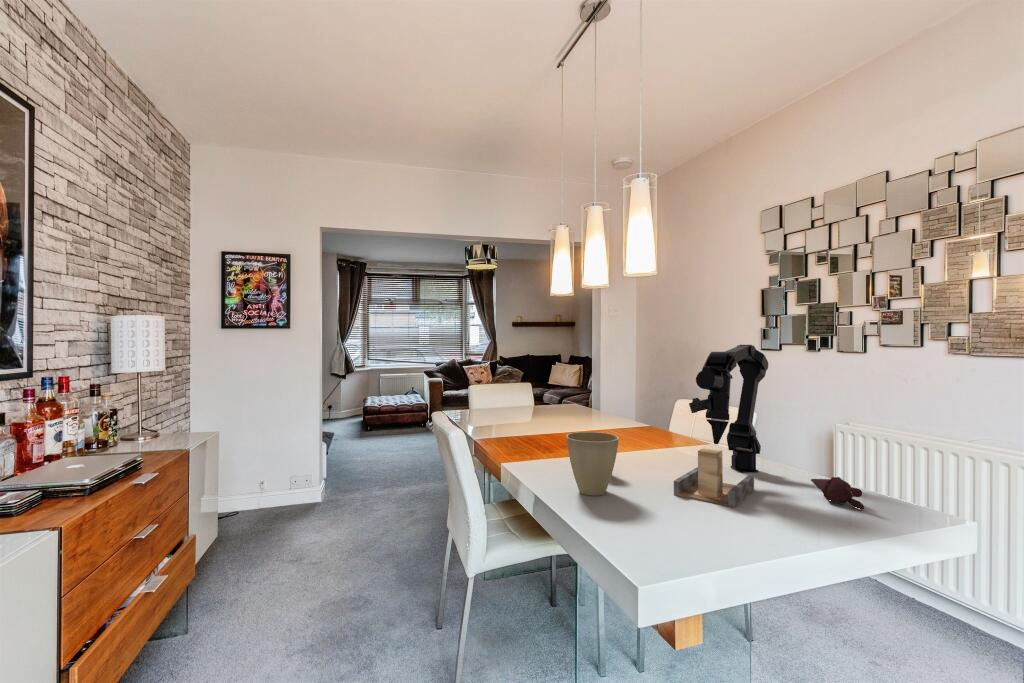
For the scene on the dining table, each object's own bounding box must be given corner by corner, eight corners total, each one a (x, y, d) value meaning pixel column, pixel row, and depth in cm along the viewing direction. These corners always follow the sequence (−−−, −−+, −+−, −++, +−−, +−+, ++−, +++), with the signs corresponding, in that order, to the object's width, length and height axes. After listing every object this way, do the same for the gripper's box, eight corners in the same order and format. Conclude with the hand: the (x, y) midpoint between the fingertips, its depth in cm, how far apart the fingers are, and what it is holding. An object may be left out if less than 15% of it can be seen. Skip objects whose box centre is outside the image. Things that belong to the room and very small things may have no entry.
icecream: (798, 472, 131) (849, 493, 117) (820, 463, 133) (872, 483, 119) (802, 495, 132) (853, 519, 118) (823, 486, 134) (875, 509, 120)
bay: (697, 479, 146) (697, 466, 146) (754, 490, 136) (753, 476, 136) (673, 494, 132) (673, 480, 132) (734, 507, 121) (734, 492, 121)
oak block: (704, 489, 135) (704, 447, 135) (722, 493, 131) (722, 450, 132) (698, 493, 131) (697, 450, 131) (716, 497, 128) (716, 453, 128)
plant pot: (619, 502, 126) (619, 442, 126) (564, 498, 129) (563, 440, 129) (618, 485, 141) (618, 432, 141) (568, 482, 144) (568, 430, 144)
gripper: (693, 391, 157) (690, 438, 155) (689, 387, 140) (685, 441, 138) (730, 394, 152) (727, 443, 150) (730, 391, 135) (727, 446, 133)
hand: (716, 443), depth 143 cm, fingers open, 9 cm apart
